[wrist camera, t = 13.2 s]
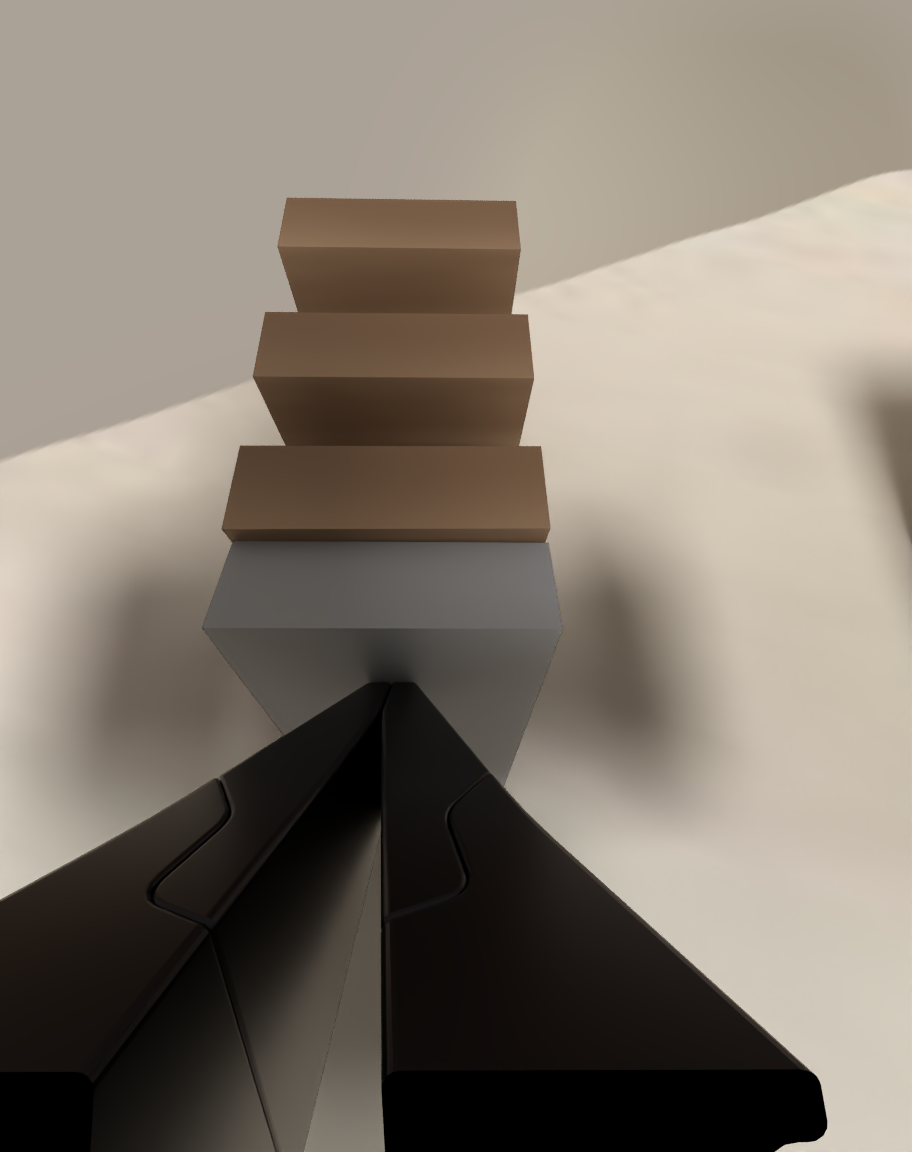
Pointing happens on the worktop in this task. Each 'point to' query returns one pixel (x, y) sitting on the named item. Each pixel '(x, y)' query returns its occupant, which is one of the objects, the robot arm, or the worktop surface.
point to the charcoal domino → (393, 629)
